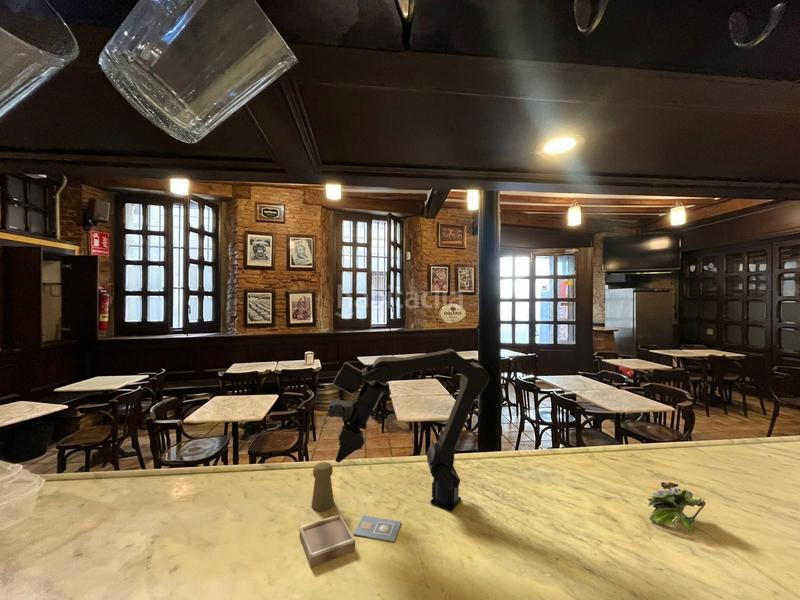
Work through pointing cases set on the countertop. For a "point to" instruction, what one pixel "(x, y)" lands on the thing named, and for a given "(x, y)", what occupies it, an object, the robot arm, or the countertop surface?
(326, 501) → the olive pawn figure
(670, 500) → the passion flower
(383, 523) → the blueprint card
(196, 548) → the countertop surface
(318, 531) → the brown square tray
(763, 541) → the countertop surface
